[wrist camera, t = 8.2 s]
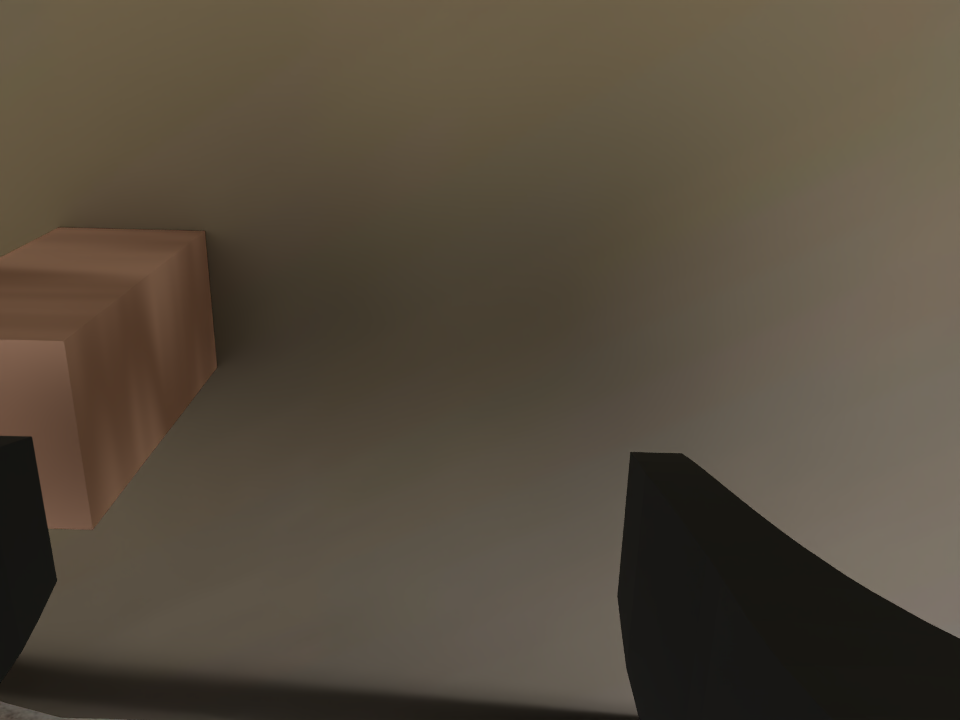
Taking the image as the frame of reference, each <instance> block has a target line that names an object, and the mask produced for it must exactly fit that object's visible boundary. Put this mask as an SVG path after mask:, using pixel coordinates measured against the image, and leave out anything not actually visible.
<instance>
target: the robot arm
mask: <svg viewBox="0 0 960 720" xmlns="http://www.w3.org/2000/svg"><path fill="white" fill-rule="evenodd" d="M56 582H57V578H56V572H55V566H54V561H53V555H52V549H51V543H50V538H49V532H48V526H47V520H46V514H45V509H44V503H43V497H42V491H41V485H40V480H39V474H38V468H37V462H36V456H35V451H34V445H33V439H32V437H31V436H0V683H1V681H2V680H3V678H4V677H5V676H6V674H7V673H8V671H9V670H10V668H11V667H12V665H13V664H14V662H15V661H16V659H17V658H18V656H19V655H20V653H21V652H22V650H23V648H24V646H25V644H26V642H27V641H28V639H29V637H30V635H31V633H32V631H33V629H34V627H35V625H36V624H37V622H38V620H39V618H40V616H41V613H42V611H43V609H44V607H45V605H46V603H47V601H48V599H49V597H50V595H51V592H52V590H53V588H54V586H55V584H56ZM618 604H619V613H620V622H621V630H622V638H623V646H624V653H625V661H626V668H627V672H628V676H629V680H630V684H631V688H632V692H633V696H634V700H635V704H636V708H637V711H638V715H639V719H640V720H960V639H959V638H957V637H955V636H953V635H951V634H949V633H947V632H945V631H943V630H941V629H939V628H937V627H935V626H933V625H931V624H930V623H928V622H926V621H924V620H922V619H920V618H918V617H917V616H915V615H913V614H911V613H909V612H908V611H906V610H904V609H902V608H900V607H899V606H897V605H895V604H893V603H892V602H890V601H888V600H886V599H884V598H883V597H881V596H879V595H877V594H875V593H874V592H872V591H870V590H869V589H867V588H865V587H864V586H862V585H860V584H859V583H857V582H855V581H854V580H852V579H851V578H849V577H847V576H846V575H844V574H843V573H841V572H840V571H838V570H837V569H835V568H834V567H832V566H831V565H829V564H828V563H826V562H825V561H823V560H822V559H820V558H819V557H817V556H816V555H815V554H813V553H812V552H810V551H809V550H807V549H806V548H804V547H803V546H801V545H800V544H799V543H797V542H796V541H794V540H793V539H792V538H790V537H789V536H788V535H786V534H785V533H783V532H782V531H781V530H779V529H778V528H777V527H775V526H774V525H773V524H771V523H770V522H769V521H767V520H766V519H765V518H764V517H762V516H761V515H760V514H758V513H757V512H756V511H755V510H753V509H752V508H751V507H749V506H748V505H747V504H746V503H744V502H743V501H742V500H741V499H739V498H738V497H737V496H736V495H734V494H733V493H732V492H731V491H730V490H728V489H727V488H726V487H725V486H723V485H722V484H721V483H720V482H718V481H717V480H716V479H715V478H713V477H712V476H711V475H710V474H709V473H707V472H706V471H705V470H704V469H702V468H701V467H700V466H698V465H697V464H696V463H695V462H693V461H692V460H691V459H689V458H688V457H686V456H685V455H683V454H681V453H643V452H630V463H629V474H628V485H627V496H626V507H625V518H624V530H623V541H622V552H621V563H620V574H619V585H618Z"/></svg>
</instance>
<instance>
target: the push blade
mask: <svg viewBox="0 0 960 720" xmlns="http://www.w3.org/2000/svg"><path fill="white" fill-rule="evenodd" d="M216 368H217V360H216V348H215V337H214V326H213V315H212V304H211V292H210V281H209V270H208V259H207V248H206V236H205V231H187V230H146V229H105V228H64V227H58V228H56V229H54V230H53V231H51V232H49V233H47V234H45V235H43V236H41V237H39V238H37V239H35V240H33V241H31V242H29V243H27V244H25V245H23V246H21V247H19V248H17V249H15V250H13V251H11V252H10V253H8V254H6V255H4V256H2V257H0V436H31V437H32V439H33V445H34V451H35V456H36V462H37V468H38V474H39V480H40V485H41V491H42V497H43V503H44V509H45V514H46V520H47V526H48V529H82V530H93V529H94V528H95V526H96V525H97V524H98V522H99V521H100V520H101V518H102V517H103V516H104V514H105V513H106V512H107V511H108V509H109V508H110V507H111V505H112V504H113V503H114V501H115V500H116V499H117V497H118V496H119V495H120V494H121V492H122V491H123V490H124V488H125V487H126V486H127V484H128V483H129V482H130V481H131V479H132V478H133V477H134V475H135V474H136V473H137V471H138V470H139V469H140V467H141V466H142V465H143V464H144V462H145V461H146V460H147V458H148V457H149V456H150V454H151V453H152V452H153V451H154V449H155V448H156V447H157V445H158V444H159V443H160V441H161V440H162V439H163V437H164V436H165V435H166V434H167V432H168V431H169V430H170V428H171V427H172V426H173V424H174V423H175V422H176V421H177V419H178V418H179V417H180V415H181V414H182V413H183V411H184V410H185V409H186V407H187V406H188V405H189V404H190V402H191V401H192V400H193V398H194V397H195V396H196V394H197V393H198V392H199V390H200V389H201V388H202V387H203V385H204V384H205V383H206V381H207V380H208V379H209V377H210V376H211V375H212V374H213V372H214V371H215V370H216Z"/></svg>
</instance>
